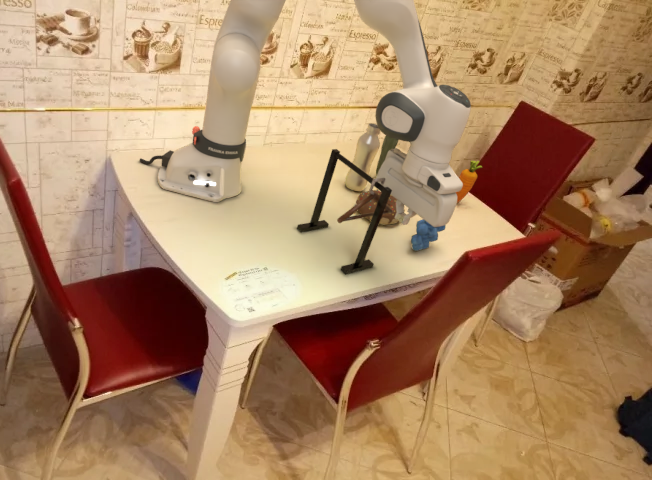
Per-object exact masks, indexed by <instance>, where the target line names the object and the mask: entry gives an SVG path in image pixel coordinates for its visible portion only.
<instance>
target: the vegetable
mask: <svg viewBox="0 0 652 480" xmlns="http://www.w3.org/2000/svg"><path fill="white" fill-rule="evenodd" d="M399 141H400V140H398V139H394V138H391V137H388V136H386V135H385V136H384V138H383V141H382V144H381V148H380V149H381V150H380V154H379V158H378V161H377V164H376V168H375V169H376V170H375V176H377V174H378V172H379V169H380V168H381V166H382V164H383V162H384V161H385V158H386V156H387V153H388V151H389V150H391V149H395V148H397V145H398V144H399Z"/></svg>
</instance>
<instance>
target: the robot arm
mask: <svg viewBox="0 0 652 480" xmlns="http://www.w3.org/2000/svg"><path fill="white" fill-rule="evenodd" d="M286 1H287V0H230V1H229V3H228V5H227V8H226V11H225V13H224V14H225V15H224V17H223V19H222V22H221V24H220V27H219V30H218V33H217V35H216V39H215V41H214V45H213V50H212V56H211V61H210V69H209V76H208V85H207V92H206V100H205V106H204V107H205V108H204V115H203V123H202V129H201V128H200V127H199V126H198V125H196V126H193V127H192V130H191V133H192V135H193V136H192V142H191V143H189V144H186V145H184V146H182V147H179V148H177V149H176V150H174V151H173V150H168V151H167V152H166V153H163V155H154V156H152V157H151V158H150V159H149V160H145V159H144V158H141V157H140V158H139V163H142V164H145V165H151V164H153V163H154V162H155V161H156V160H161V166H160V168H159V170H158V172H157V184H158V185H159V187H160V188H161V189H162V190H166V191H170V192H174V193H177V194H181V195H186V196H190V197H192V198H193V197H194V198H198V199H201V200H204V201H205V200H206V201H209V202H214V203H219V202H222V201H224V200H225V199H230V198H234V197H236V196H238V195H239V194H240V193H241V192H242V190H243V188H242V187H243V186H242V162H243V160H244V158H245V153H246V148H247V139H246V137H247V131H248V126H249V120H250V115H251V111H252V107H253V102H254V99H255V95H256V91H257V86H258V83H259V78H260V73H261V56H262V52H263V49H264V47H265V45H266V43H267V41H268V39H269V37H270V35H271V33H272V31H273V29H274V27H275V25H276V24H277V22H278V21H279V18H280V15H281V13H282V11H283V8H284V6H285V3H286ZM353 2H354V5H355V8H356V10H357V14H358V16H359V18H360V20H361V22H363V23H364V24H365V25H366V26H367V27H369V28H370V29H372V30H374V32H375V31H376V32H377V33H379V34H380V35H382V36H383V37H384V38H385V39H386V40H387V41H388V42H389V44H390V45H391V46H392V48H393V50H394V54H395V57H396V63H397V65H398V70H399V74H400V78H401V82H402V88H401V89H397V90H393V91H390V92H389V93H387V94H385V95H383V96H382V97H381V98H380V100H379V101H378V103H377V105H376V108H375V122H376V125H378V127H379V129H380V133H382V134H383V135H385V136H388V137H391V138H394V139H398V140H399V141H403V142H408V143H409V147H408V151H407V153H405V152H403V151H402V150H400V149H399V148H397V147H395V149H391V150H389V151H388V153H387V156H386V158H385V161H384V162H383V164H382V166H381V168H380V169H379V172H378V174H377V176H376V175H375V176H376V177H375V179H377V178H385V182H384V184H383V186H384V187H389V188H390V189H391V190H392V192H391V194H390V195H392V196H393V197H395V198H396V199H397V201H396V212H397V213H396V215H395V219H396V220H398V221H399V222H398V223H400V224H402V225H403V226H405V225H409V223H410V221H411V219H412V218H414V217H415V216H419V217H420V218H422V219H424V220H425V221H427V222H428V223H429V224H431V225H432V226H433V227H440V226H444V225H448V224H449V222H450V220H451V219H452V216H453V214H454V212H455V209H456V207H457V194H456V192H459V191H460V190H461V189H462V187H463V183H462V181H461V180H460V179H459V176H458V175H457V174H456V172H455V171H454V169H453V167H452V166H451V165H450V163H451V160H452V155H453V151H454V149H455V148H456V146H457V145H458V144H459V143H460V141H461V138H462V136H463V134H464V132H465V129H466V126H467V124H468V120H469V117H470V114H471V110H472V104H471V101H470V98H469V97H468V96H467V95H466V93H464V92H463V91H461V90H460V89H458V88H456V87H454V86H451V85H448V84H437V83H436V80H435V78H434V76H433V72H432V69H431V65H430V59H429V55H428V52H427V46H426V42H425V39H424V33H423V30H422V26H421V23H420V19H419V15H418V13H417V9H416V4H415V1H414V0H353ZM379 183H380V184H381V181H380V182H379ZM381 185H382V184H381ZM405 207H407V208H408V209H407V211H406V212H407V214H406V213H405V211H404V210H405Z"/></svg>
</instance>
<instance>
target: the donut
mask: <svg viewBox="0 0 652 480" xmlns="http://www.w3.org/2000/svg"><path fill="white" fill-rule="evenodd" d="M372 191H373V192H375V193H377V194H378V195H379V196H381V193H382V192H381V191H380V190H378V189H377V190H376V189H373V190H372ZM370 194H371V193H370V192H369V190H367V191H361V192H360V193H359V194H358V197H357V199H356V201H355V203H356V204H358V203H359V202H360V201H362V200H363V199H364V198H366V197H367V196H368V195H370ZM396 201H397V199H396V198H395V197H393V196H392V195H391V194H390V197H389V199H388V202H387V205H388V206H389V207H390V208H391V209H392V210H393V212H392V213H391V214H390V213H386V214H383V215H382V217H381V220H380V222H379V225H384V226H385V225H387V226H388V225H393V224H398V223H400V222H399V221H398V220H396V219H395V215H396V213H397V212H396ZM377 203H378V202H377V201H376V200H375V199H374V198H373V199H372V200H371V201H369V202H368V203H367V204H365V205H364V206H363V207H361V208H360V209H359V210H358V211H357V212H358V213H360V215H362V214H367V213H373V212H374V211H375V209H376V206H377ZM356 204H355V205H356ZM405 211H406V210H405V209H404V212H405ZM365 219H366V220H368V221H369V222H371V219H372V216H370V217H365Z"/></svg>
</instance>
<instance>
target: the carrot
mask: <svg viewBox="0 0 652 480" xmlns="http://www.w3.org/2000/svg"><path fill="white" fill-rule="evenodd" d="M479 163H480V160H471V161H470V163H469V165H470V166H469V168H465V169H463V170H461V172H460V174H459V176H458V178H459V179H460V180H461V181H462V183H463V187H462V189H461V190H460V191H459V192H456V194H457V203H459V202H461V201H462V200H463V199H464V198H465V197H466V196H467V195H468V194H469V192H470V191H471V190H472V188H473V186H474V185H475V182H476V181H477V179H478V174H477V172H476V170H478V169H482V168H483V166H482V165H479Z"/></svg>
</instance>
